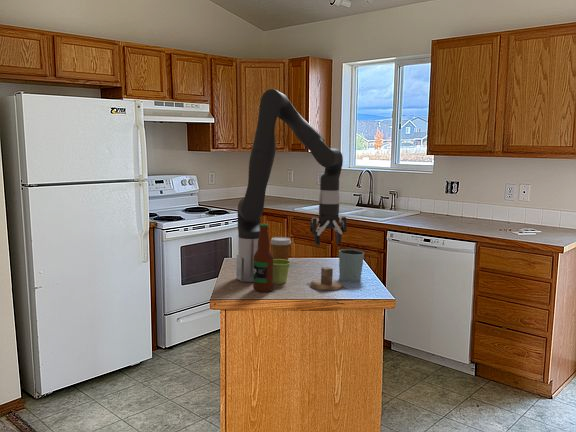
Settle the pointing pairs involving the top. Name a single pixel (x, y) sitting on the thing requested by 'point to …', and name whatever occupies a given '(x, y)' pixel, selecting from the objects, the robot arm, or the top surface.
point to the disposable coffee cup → (280, 247)
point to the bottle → (263, 263)
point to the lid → (326, 281)
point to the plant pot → (280, 270)
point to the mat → (325, 291)
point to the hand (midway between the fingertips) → (328, 244)
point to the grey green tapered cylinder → (350, 265)
